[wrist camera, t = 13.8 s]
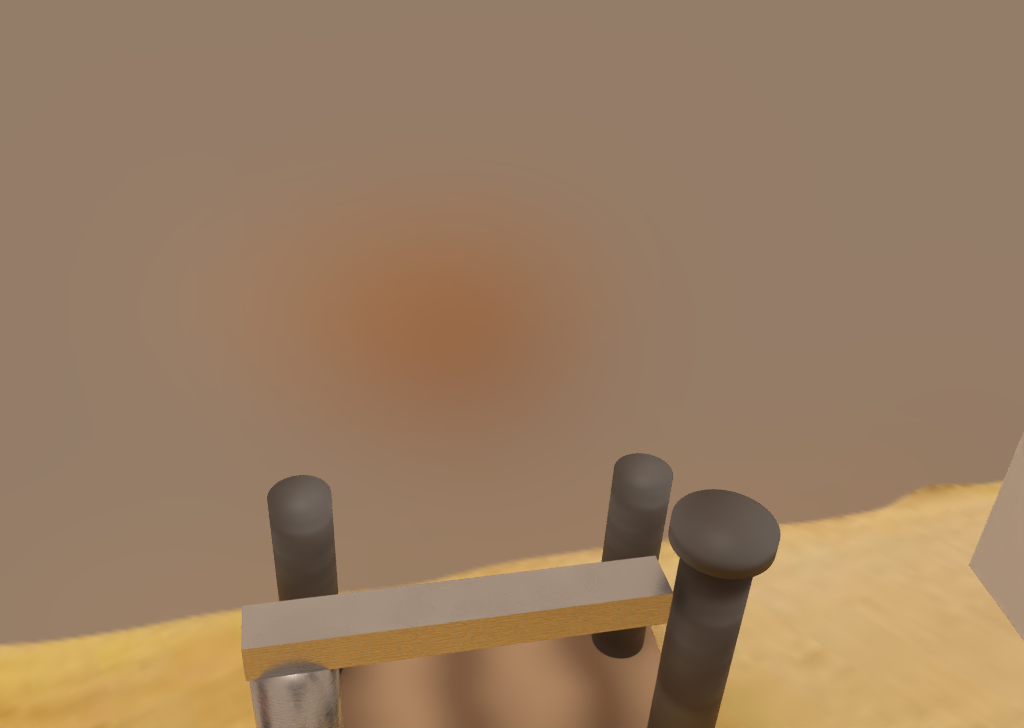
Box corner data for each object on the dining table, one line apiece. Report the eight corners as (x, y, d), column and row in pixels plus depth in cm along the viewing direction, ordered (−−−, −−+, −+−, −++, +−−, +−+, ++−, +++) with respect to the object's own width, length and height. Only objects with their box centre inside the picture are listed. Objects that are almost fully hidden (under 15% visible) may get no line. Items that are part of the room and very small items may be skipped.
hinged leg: (614, 756, 45) (650, 544, 38) (636, 819, 43) (678, 605, 35) (274, 812, 42) (242, 593, 35) (275, 884, 40) (241, 663, 32)
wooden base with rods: (640, 645, 55) (689, 368, 45) (715, 861, 45) (801, 564, 34) (274, 681, 52) (237, 392, 42) (262, 923, 41) (208, 615, 31)
